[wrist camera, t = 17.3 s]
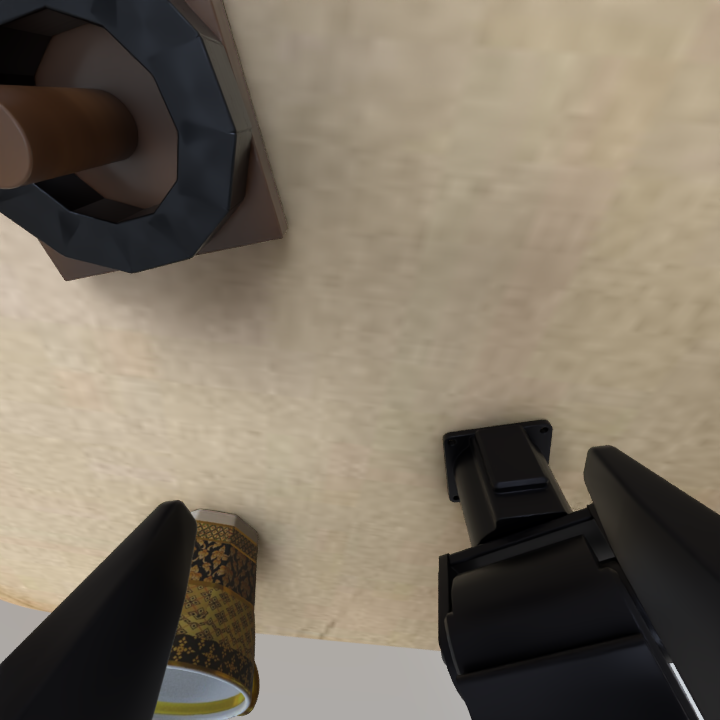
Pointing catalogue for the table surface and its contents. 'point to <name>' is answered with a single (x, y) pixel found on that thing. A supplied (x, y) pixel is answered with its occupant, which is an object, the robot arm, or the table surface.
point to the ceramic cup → (215, 627)
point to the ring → (188, 112)
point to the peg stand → (120, 134)
